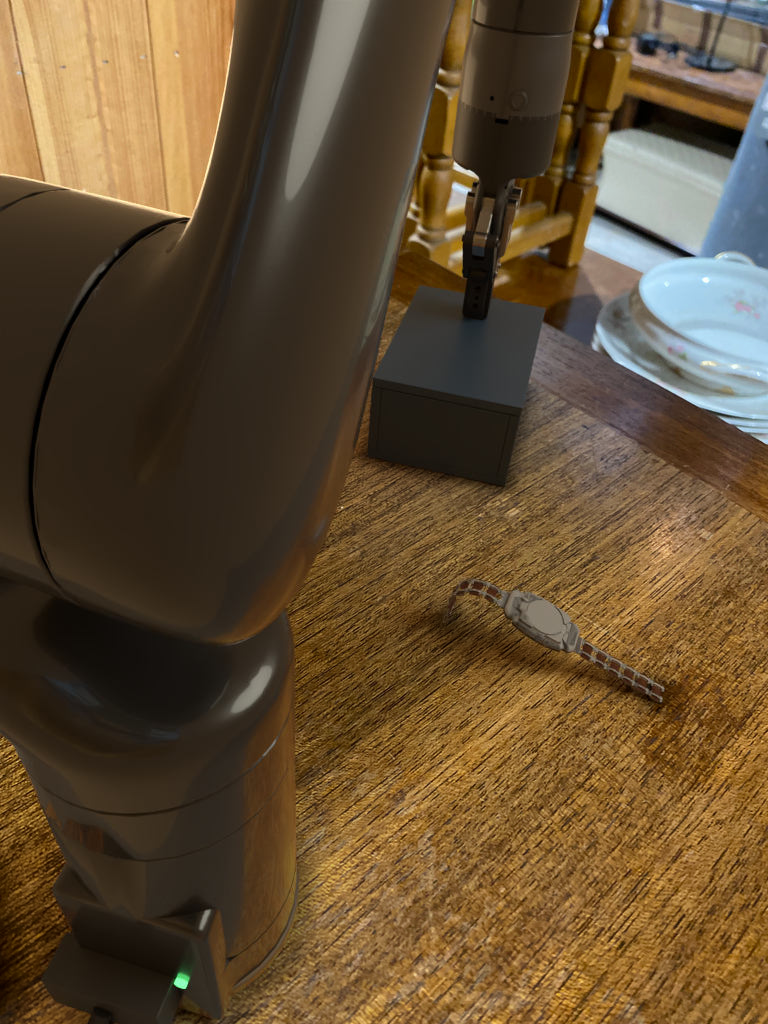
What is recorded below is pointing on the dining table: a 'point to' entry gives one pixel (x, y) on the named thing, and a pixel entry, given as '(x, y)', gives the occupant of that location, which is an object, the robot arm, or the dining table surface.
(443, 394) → the lid
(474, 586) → the wristwatch
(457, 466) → the chest
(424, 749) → the dining table surface
